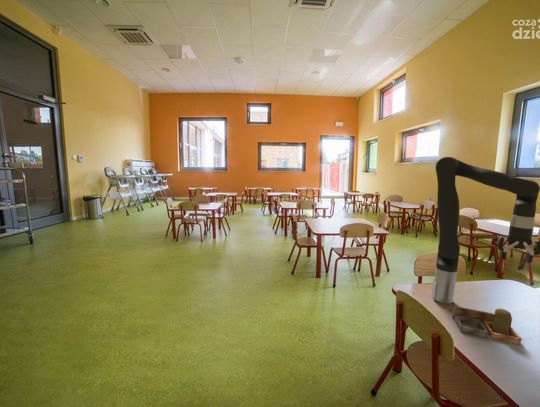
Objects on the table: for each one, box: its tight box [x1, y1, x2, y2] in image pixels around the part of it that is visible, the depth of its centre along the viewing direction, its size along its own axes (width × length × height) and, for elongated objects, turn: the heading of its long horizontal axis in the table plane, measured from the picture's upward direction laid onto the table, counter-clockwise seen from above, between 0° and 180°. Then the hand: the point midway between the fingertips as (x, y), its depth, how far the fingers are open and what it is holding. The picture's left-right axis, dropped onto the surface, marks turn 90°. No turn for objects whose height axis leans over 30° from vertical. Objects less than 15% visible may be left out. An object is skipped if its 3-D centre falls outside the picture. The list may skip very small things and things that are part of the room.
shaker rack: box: [451, 305, 522, 346], centre depth 113 cm, size 21×11×6 cm, turn 68°
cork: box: [491, 308, 512, 336], centre depth 110 cm, size 6×6×11 cm
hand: (515, 261), depth 117 cm, fingers open, 8 cm apart
